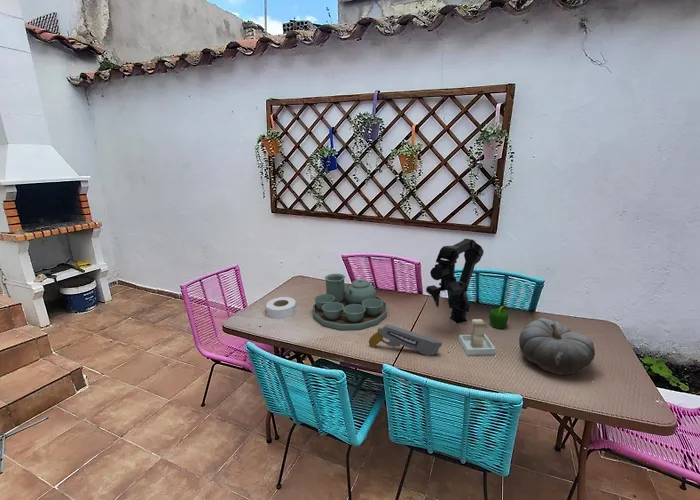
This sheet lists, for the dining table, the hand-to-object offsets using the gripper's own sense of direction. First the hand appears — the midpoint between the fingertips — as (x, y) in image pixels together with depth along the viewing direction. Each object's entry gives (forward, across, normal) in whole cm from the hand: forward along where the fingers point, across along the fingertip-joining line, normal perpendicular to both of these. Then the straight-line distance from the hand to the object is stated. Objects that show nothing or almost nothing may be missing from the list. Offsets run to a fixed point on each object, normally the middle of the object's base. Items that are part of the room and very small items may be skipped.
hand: (445, 305), depth 159 cm
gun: (+13, -26, -8) cm, 30 cm away
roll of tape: (+14, -71, +48) cm, 87 cm away
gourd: (+13, +26, -37) cm, 47 cm away
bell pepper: (+13, +26, -6) cm, 30 cm away
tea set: (+14, -36, +34) cm, 51 cm away
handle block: (+12, +4, -18) cm, 22 cm away
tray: (+13, +4, -18) cm, 22 cm away
